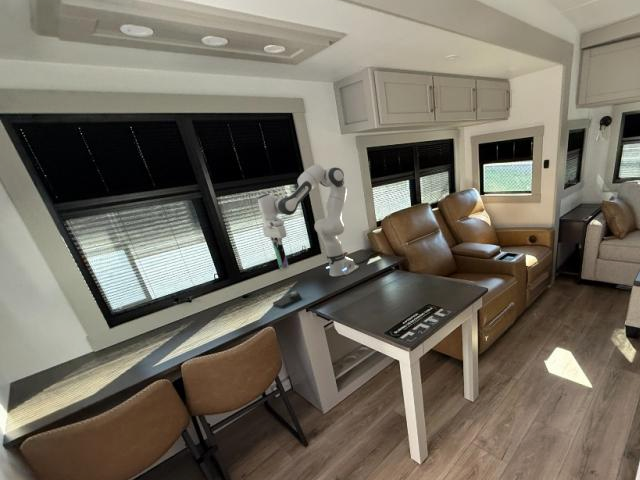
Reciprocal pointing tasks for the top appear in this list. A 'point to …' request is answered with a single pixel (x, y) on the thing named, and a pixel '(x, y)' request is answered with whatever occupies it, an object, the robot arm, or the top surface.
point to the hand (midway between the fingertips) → (277, 244)
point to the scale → (287, 301)
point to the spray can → (280, 254)
